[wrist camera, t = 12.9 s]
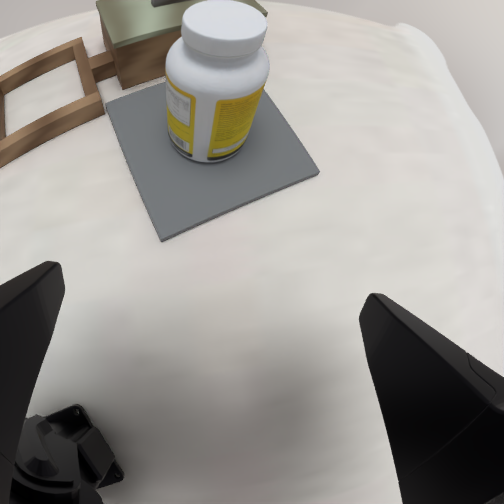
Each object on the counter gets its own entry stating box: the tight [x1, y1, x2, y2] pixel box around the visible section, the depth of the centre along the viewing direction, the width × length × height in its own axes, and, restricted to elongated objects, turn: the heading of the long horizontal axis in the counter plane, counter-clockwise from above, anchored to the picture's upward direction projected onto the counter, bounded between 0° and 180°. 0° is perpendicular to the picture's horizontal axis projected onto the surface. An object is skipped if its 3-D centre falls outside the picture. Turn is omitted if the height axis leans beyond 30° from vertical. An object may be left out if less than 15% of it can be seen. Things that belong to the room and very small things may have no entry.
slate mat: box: [105, 82, 320, 242], centre depth 25 cm, size 14×14×1 cm
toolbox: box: [0, 0, 268, 168], centre depth 22 cm, size 28×11×7 cm, turn 119°
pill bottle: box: [165, 0, 270, 162], centre depth 19 cm, size 6×6×12 cm
